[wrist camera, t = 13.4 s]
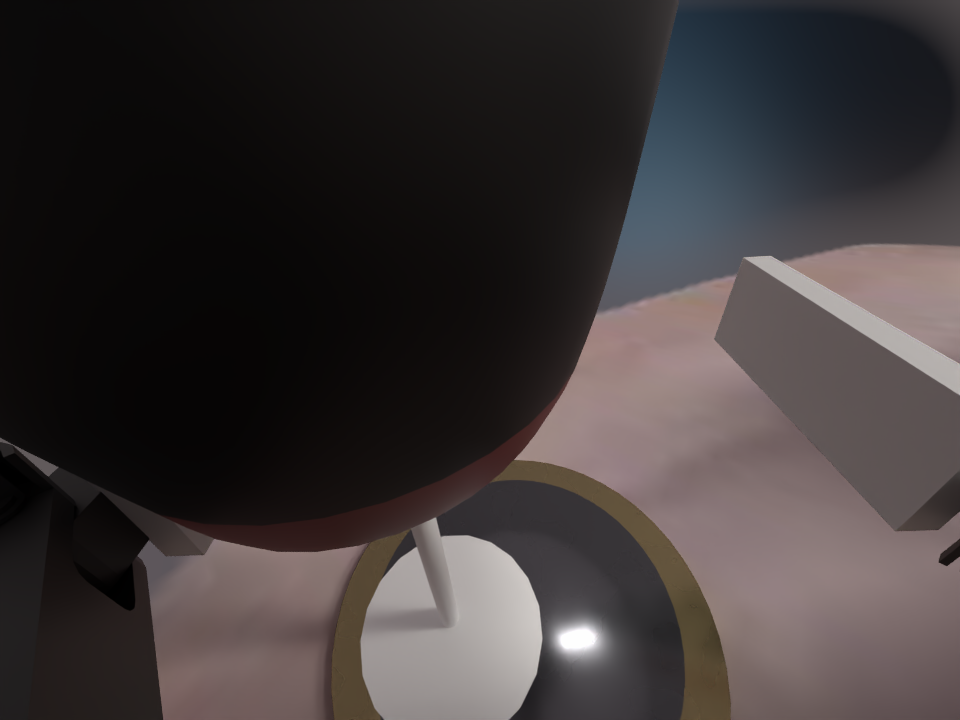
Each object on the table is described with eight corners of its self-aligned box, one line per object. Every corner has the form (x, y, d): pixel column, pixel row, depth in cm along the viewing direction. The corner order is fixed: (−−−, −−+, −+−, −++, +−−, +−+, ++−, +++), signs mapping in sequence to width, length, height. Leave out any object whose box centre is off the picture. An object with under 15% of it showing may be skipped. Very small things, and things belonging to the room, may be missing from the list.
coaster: (578, 435, 25) (579, 428, 25) (839, 760, 13) (847, 756, 12) (327, 520, 21) (324, 513, 21) (353, 1116, 9) (346, 1124, 8)
